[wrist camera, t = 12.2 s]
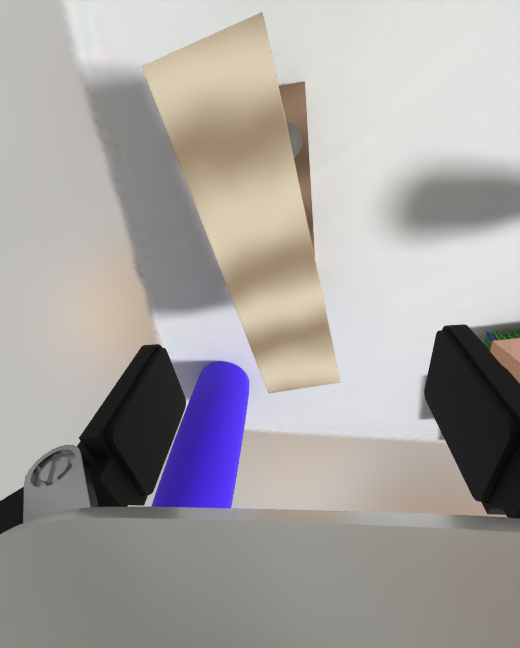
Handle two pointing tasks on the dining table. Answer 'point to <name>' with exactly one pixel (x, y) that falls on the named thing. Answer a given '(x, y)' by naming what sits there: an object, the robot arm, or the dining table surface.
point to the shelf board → (249, 196)
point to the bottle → (207, 442)
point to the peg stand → (299, 142)
